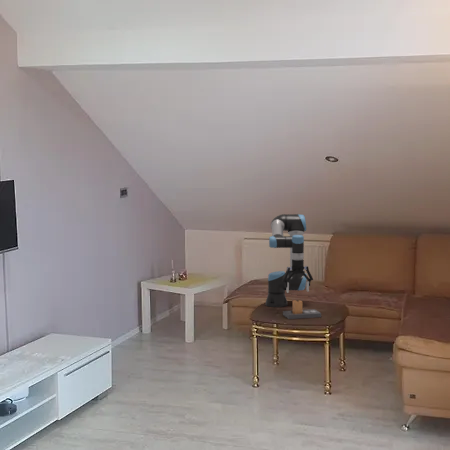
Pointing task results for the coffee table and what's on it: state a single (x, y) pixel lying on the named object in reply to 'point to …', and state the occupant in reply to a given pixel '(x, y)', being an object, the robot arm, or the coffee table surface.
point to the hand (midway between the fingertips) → (297, 291)
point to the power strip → (305, 314)
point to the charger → (297, 307)
